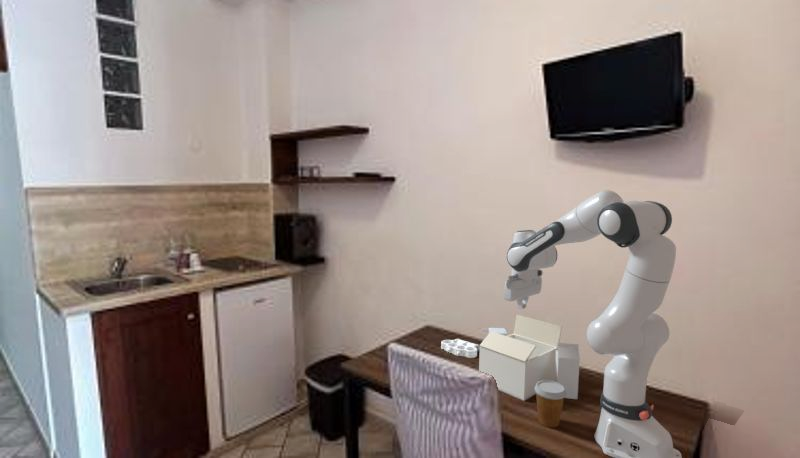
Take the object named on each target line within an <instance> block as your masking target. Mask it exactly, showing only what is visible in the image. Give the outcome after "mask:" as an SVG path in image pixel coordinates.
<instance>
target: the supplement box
mask: <svg viewBox="0 0 800 458" xmlns="http://www.w3.org/2000/svg"><path fill="white" fill-rule="evenodd" d="M491 331H492V332H495V333H498V334H501V335H505V336H508V333H507V330H506V329H505V328H504V327H488V334H489V333H490V332H491ZM488 334H487V335H488Z"/></svg>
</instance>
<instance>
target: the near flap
mask: <svg viewBox="0 0 800 458" xmlns="http://www.w3.org/2000/svg"><path fill="white" fill-rule="evenodd" d="M479 345H480V347H483V348H486V349H488V350H491V351H494V352H497V353H500V354H503V355H505V356H508V357H511V358H514V359H517V360H519V361H522V362H526V361H527V359H528V358H529V357H530V355H531V354H532V352H533V351H534V349H535V348H536V345H533V344H530V343H527V342H524V341H520V340H517V339H514V338H511V337H508V335H507V336H505V335H501V334H498V333H495V332H492V331H491V332H490V333H489V334H487V335H486V337H484V339H483V340H482V342H481V343H480V344H479Z"/></svg>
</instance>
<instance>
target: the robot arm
mask: <svg viewBox="0 0 800 458" xmlns="http://www.w3.org/2000/svg"><path fill="white" fill-rule="evenodd" d="M672 216H673V215H672V213H671V211H670V209H669V208H668V207H667V206H666V205H664V204H662V203H660V202H657V201H653V200H646V201H645V200H644V201H642V200H640V201H639V200H627V201H625V200H623V198H622V197H621V195H619V194H618V193H617V192H616V191H613V190H609V189H606V190H605V189H604V190H601V191H599V192H597V193H594V194H593V195H591V196H589V197H588V198H586V199H585V200H583V201H582V202H580V203H579V204H578V205H576V206H575V207H574V208H572V209H571V210H570V211H568V212H567V213H566V214H564V215H563V216H561V217H559V218H558V219H556V220H555V221H553V222H552V223H550V224H548V225H547V226H544V227H543V228H541V229H540V230H538V231H537V232H536V231H535V230H533V229H527V230H517V231H516V232H515V233H514V235H513V239H512V244H511V245H510V247H509V248H508V250H507V253H506V261H507V263H508V265H509V266H510V267H511V272H510V273H511V274H510V275H509V276H508V277H507V279H506V281H505V283H504V288H503V299H504V300H505V301H508V302H514V301H516V303H517V308H518V310H525V309H527V305H528V304H527V303H528V301H529V297H531V296H535V295H538V294H540V293H541V291H542V283H543V280H542V279H543V277H542V276H543V273H544V272H543V271H544V270H542V269H547V268H551V267H553V266H554V265H555V264H556V262H557V260H558V250H557V248H556V247H555V246H560V245H564V244H565V245H566V244H573V243H574V244H575V243H576V244H577V243H583V242H587V241H589V240H593V239H594V238H596V237H598V236H600V235H602V236H604V238H606V239H607V240H609V241H611V242H613V243H615V244H616V245H617V246H618V247H620V248H628V249H629V257H628V260H627V263H626V267H625V269H624V271H623V275H622V279H621V281H620V284H619V287H618V289H617V292H616V293H615V296H614V297H613V299H612V300H611V301H610V303H609V304H608V305H607V307H606V308H605V309H604V311H603V312H602V313H601V314H600V315H599V316H598V317H597V318H596V319H594V320H593V321H591V322H590V323H589V324H588V325H587V329H586V338H587V342H588V345H589V346H590V348H591V349H592V350H593V351H594V352H595V353H597V354H598V355H604V356H613V357H612V358H611V360H610V361H609V362H608V363H607V364H606V366H605V367H604V371H603V372H604V373H603V390H602V391H601V396H600V415H599V416H600V417H599V421H598V425H597V427H596V430H595V432H594V439H595V441H596V443H597V444H598V445H599V446H600V447H601V449H602V451H603V453H604V455H606V456H609V457H612V458H683V457H682V453H681V451H679V450H678V449H676V448H674V444H673V437H672V435H671V434H670V432H669V431H668V430H667V429H666V428H665V427H664V426H663V425H661V423H660V422H659V421H658V420H657V419H656V418H655V417H654V416H653V415H652V413H653V410H654V404H651V406H650V405H649V403H648V402H647V399H646V392H647V384H648V383H647V382H648V376H649V373H650V370H651V366H652V364H653V362H654V360H655V358H656V356H657V354H658V353H659V351H660V349H661V348H662V347H663V346H664V345H665V343H667V342H668V341H669V338H670V328H669V326H668V322H666V320H665V319H664V318H663V317H662V316H661V315H659V314H657V313H654V312H656V311H657V310H658V309H660V307H661V306H662V304H663V301H664V298H665V295H666V293H667V290H668V287H669V283H670V281H671V278H672V275H673V273H674V272H673V271H674V267H675V263H676V256H677V255H676V254H677V246H676V244H675V242H674V241H673V240H672V239H670V238H668V237H667V236H665V234H666V233H667V232H668V231H669V230H670V228H671V226H672V223H673V217H672Z"/></svg>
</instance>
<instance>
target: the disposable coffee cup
mask: <svg viewBox="0 0 800 458" xmlns="http://www.w3.org/2000/svg"><path fill="white" fill-rule="evenodd" d="M535 392H536V394H535V396H536V398H535V399H536V407H537V409H536V410H537V421H538V423H539V424H540V425H542V426H544V427H547V428H556V427H558V426H559V424H560V421H561V415H562V409H563V405H564V399H565V398H564V397H565V395H566V391H565V388H564V386H562V385H561V384H559V383H557V382H553V381H539V382H537V384H536V386H535Z"/></svg>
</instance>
